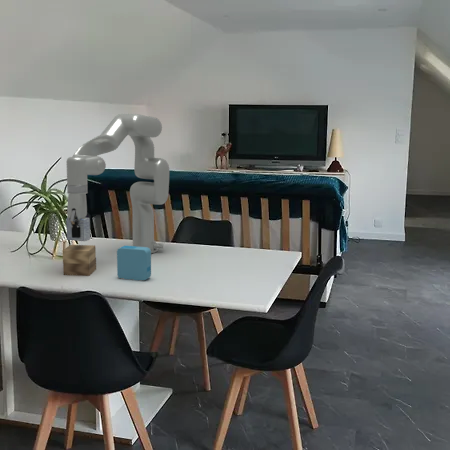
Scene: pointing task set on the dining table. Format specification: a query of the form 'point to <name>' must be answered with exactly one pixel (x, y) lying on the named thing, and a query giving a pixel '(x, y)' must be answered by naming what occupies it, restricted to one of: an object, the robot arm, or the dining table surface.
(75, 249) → the upper block
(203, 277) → the dining table surface
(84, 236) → the medicine box
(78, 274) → the lower block
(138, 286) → the dining table surface
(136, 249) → the data package
